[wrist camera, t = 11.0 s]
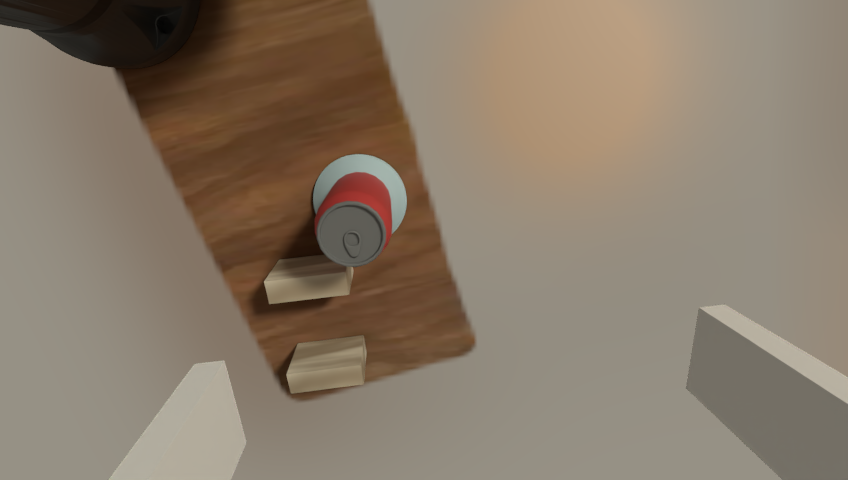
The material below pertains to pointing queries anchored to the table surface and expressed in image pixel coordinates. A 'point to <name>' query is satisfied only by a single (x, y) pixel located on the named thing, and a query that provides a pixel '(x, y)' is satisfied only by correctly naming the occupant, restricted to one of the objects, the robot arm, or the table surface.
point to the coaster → (369, 166)
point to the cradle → (325, 358)
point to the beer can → (354, 220)
